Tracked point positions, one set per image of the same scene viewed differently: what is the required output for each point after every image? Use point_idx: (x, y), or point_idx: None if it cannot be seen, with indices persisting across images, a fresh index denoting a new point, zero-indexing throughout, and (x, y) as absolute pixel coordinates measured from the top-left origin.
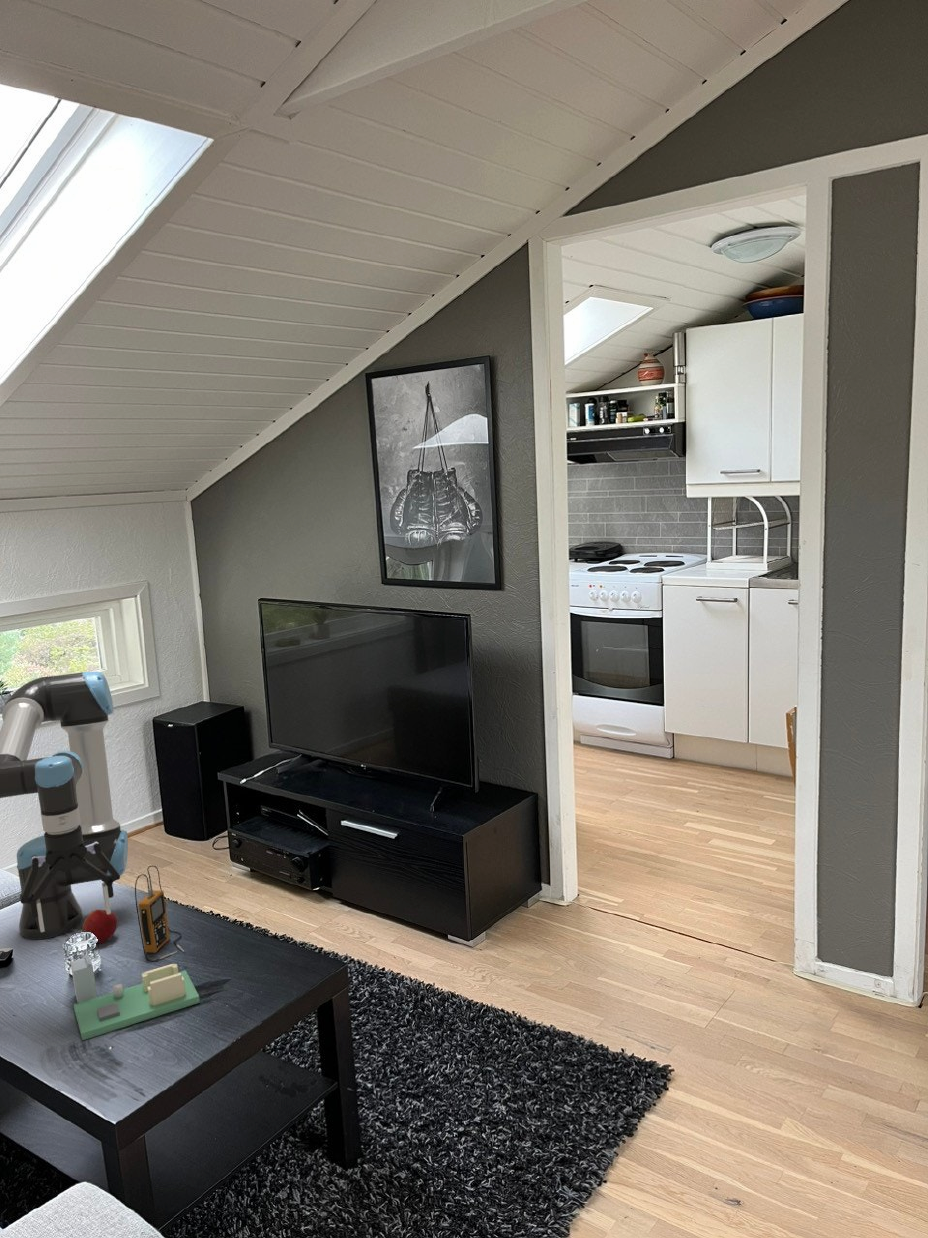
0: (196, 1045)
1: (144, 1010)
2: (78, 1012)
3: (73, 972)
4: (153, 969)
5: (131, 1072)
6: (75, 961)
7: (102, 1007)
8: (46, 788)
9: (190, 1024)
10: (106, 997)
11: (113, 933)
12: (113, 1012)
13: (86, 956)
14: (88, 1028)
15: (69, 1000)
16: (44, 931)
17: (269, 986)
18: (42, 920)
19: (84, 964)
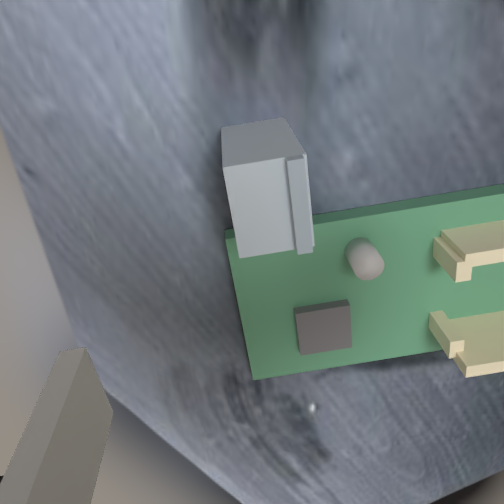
0: (468, 450)
1: (409, 343)
2: (242, 289)
3: (239, 257)
4: (500, 250)
5: (342, 480)
6: (244, 176)
7: (311, 313)
8: None
9: (483, 389)
10: (323, 241)
11: None
12: (337, 345)
13: (296, 178)
14: (270, 367)
15: (203, 156)
16: (112, 413)
17: None
18: (90, 488)
19: (283, 221)
